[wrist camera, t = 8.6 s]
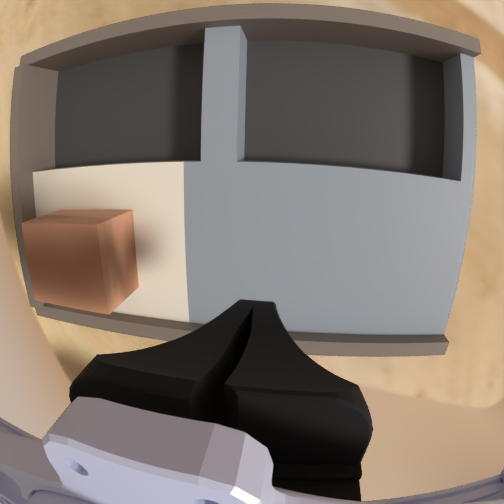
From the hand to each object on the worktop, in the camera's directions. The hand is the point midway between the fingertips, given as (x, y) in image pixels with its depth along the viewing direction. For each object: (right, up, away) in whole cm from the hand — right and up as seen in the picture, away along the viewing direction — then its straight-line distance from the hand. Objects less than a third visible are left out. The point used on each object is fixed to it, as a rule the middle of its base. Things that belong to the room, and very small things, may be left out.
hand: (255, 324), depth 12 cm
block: (-10, +3, +8) cm, 13 cm away
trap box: (-2, +7, +8) cm, 11 cm away
